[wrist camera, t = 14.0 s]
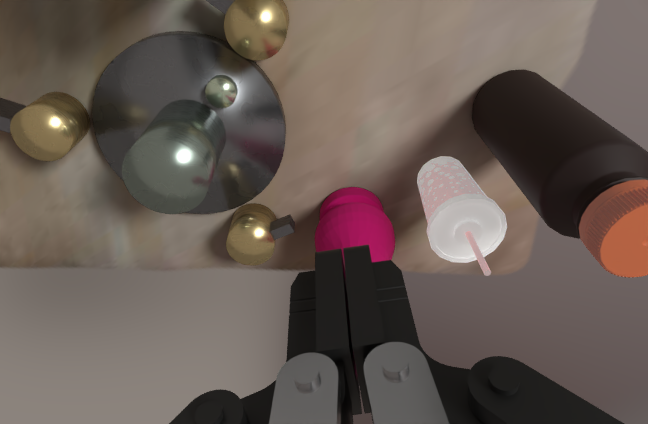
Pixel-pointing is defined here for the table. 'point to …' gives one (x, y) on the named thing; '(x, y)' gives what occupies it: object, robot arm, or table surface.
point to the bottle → (569, 167)
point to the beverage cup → (459, 213)
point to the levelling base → (188, 80)
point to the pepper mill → (355, 224)
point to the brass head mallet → (45, 125)
